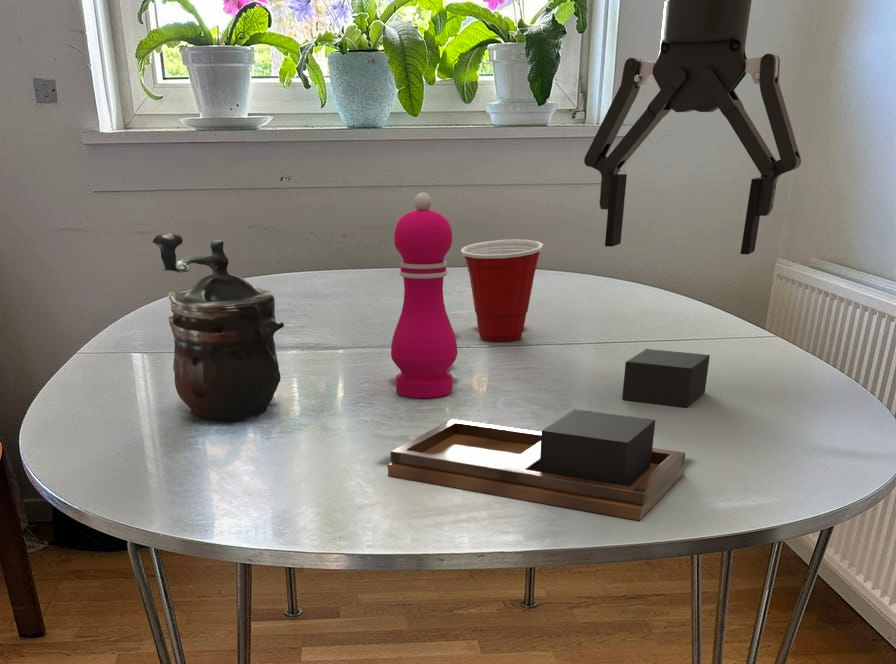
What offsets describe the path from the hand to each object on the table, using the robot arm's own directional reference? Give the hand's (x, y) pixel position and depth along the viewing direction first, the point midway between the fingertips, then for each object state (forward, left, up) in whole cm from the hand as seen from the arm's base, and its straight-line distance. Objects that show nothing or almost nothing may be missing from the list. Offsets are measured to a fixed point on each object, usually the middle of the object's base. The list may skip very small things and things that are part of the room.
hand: (677, 249), depth 95 cm
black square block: (-3, +30, -14) cm, 33 cm away
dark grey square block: (0, 0, -15) cm, 15 cm away
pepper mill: (+24, +10, -15) cm, 30 cm away
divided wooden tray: (+2, +30, -15) cm, 33 cm away
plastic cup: (+29, -20, -15) cm, 38 cm away
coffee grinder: (+37, +28, -15) cm, 48 cm away
